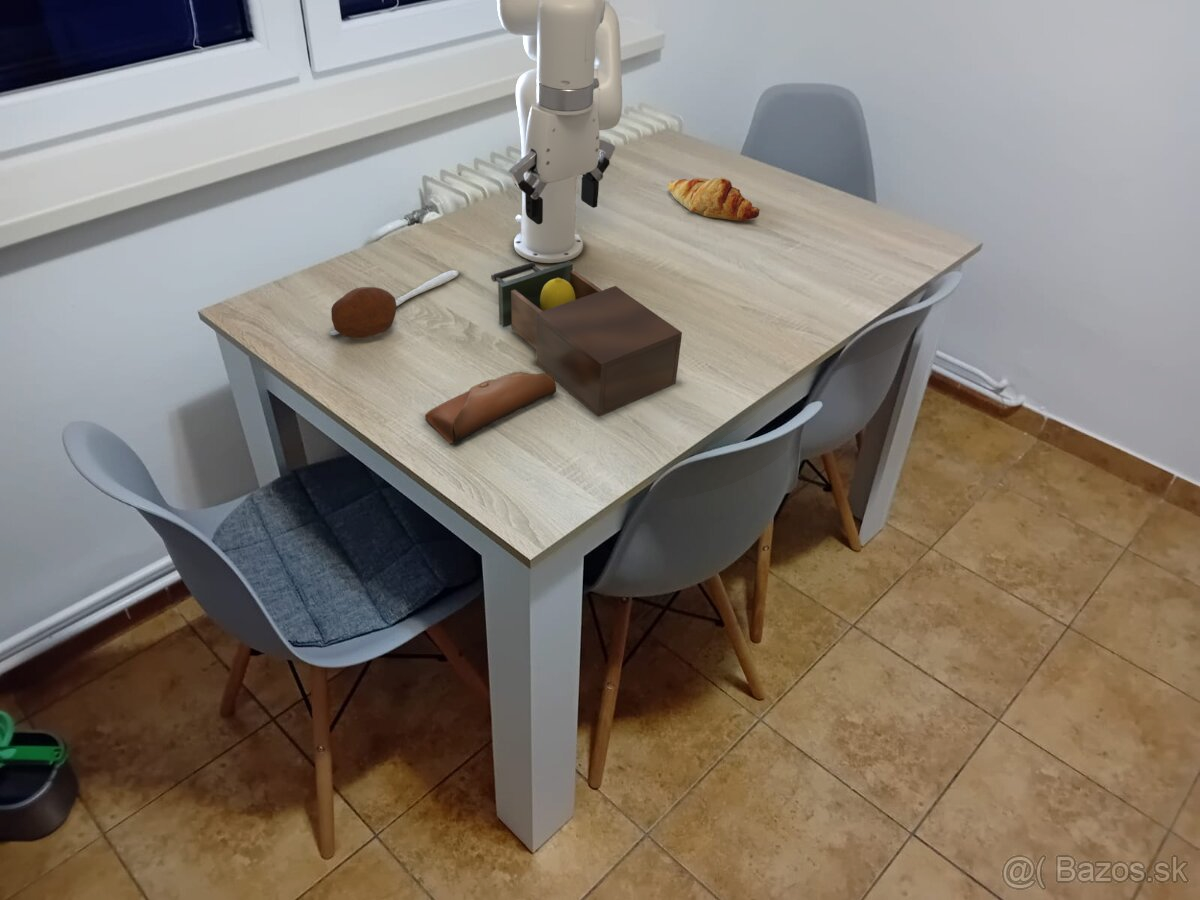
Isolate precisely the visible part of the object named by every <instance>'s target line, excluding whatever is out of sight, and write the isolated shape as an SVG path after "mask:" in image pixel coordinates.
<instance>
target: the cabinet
mask: <svg viewBox="0 0 1200 900" xmlns="http://www.w3.org/2000/svg"><path fill="white" fill-rule="evenodd" d="M601 290H602V291H599V292H596V293H593V294H591V295H588V296H585V297H582V298H579V299H576V300H573V301H571V302H568V303H565V304H562V305H559V306H556V307H553V308H550V309H548V310H545V311H542V312H539V313H537V349H536V365H537V366H538V367H539V368H540V369H541V370H543V371H544V373H545V374H548V375H550V376H551V377H552V378H553V379H554V381H555V382H556V383H558V384H559V385H560V386H561V387H562V388H563V389H565V390H566V391H567V392H568V393H569V394H571V395H572V396H573V397H574V398H575V399H576V400H578V401H579V402H580V403H581V404H582V405H583V406H584V407H586V408H587V409H588V410H589V411H591V412H592V413H593V414H594V415H595V416H596V417H597V418H599V417H602V416H604V415H606V414H609V413H610V412H613V411H616V410H618V409H620V408H622V407H625V406H628V405H630V404H632V403H635V402H637V401H640V400H641V399H644V398H646V397H649V396H650V395H653V394H655V393H657V392H659V391H662V390H664V389H667V388H669V387H671V386H674V385H676V384H677V378H678V370H679V369H678V368H679V361H680V353H681V344H682V338H683V337H682V336H683V331H681V330H679V329H678V328H677V327H675V326H674V325H672V324H671V323H670V322H668V321H667V320H665V319H664V318H662V317H661V316H659V315H658V314H657V313H655V312H654V311H652V310H651V309H649V308H648V307H646V305H644V304H642V303H641V302H640V301H638V300H636V299H635V298H634V297H632V296H631V295H629V294H628V293H626V292H625V291H623V290H622V289H621V288H620V287H618V286H617V285H614V286H610V287H607V288H605V289H601Z"/></svg>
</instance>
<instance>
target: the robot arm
mask: <svg viewBox="0 0 1200 900" xmlns="http://www.w3.org/2000/svg"><path fill="white" fill-rule="evenodd" d="M496 10H497V14H498V19H499V22H500V24H501V26H502V28H503V29H504V30H505V31H506V32H508V33H509V34H511V35H515V36H522V42H523V43H522V44H523V48H524V51H525V53H526V55H527V57H528V58H529V59H530V60H532V61H534V62H536V68H533V69H529V70H527V71H525V72H524V73H522V74H520V76H519V78H518V79H517V82H516V85H515V104H516V110H517V116H518V122H519V124H518V125H519V131H520V143H521V144H520V147H521V149H520V150H521V158H520V159H519V160H518V161H517V162H516V163H515V164H513V166H511V167H509V170H508V173H509V176H510V177H511V179H512V180H513V182H514V186H515V187H517V188H518V189H519V190H520V191H521V198H522V199H521V214H520V213H517V214H516V216H515V221H516V222H517V223H519V224H520V232H519V233H518V234H516V236H515V238H513V239H514V240H513V247H514V250H515V252H516V253H517V254H518V255H519V256H520V257H522V258H524V259H526V260H528V261H531V262H534V263H535V262H536V263H540V264H541V263H542V264H560V263H565V262H568V261H571V260H573V259H575V258H577V257H578V256H580V254H582V251H583V249H584V241H583V239H582V237H581V236H580V234H578V233H576V213H577V212H576V211H577V210H576V209H577V207H576V206H577V180H578V179H577V177H578V176H580V175H582V177H581V191H580V192H581V193H580V199H581V201H582V202H583V203H585V204H586V205H587V206H589V207H591V208H593V209H594V208H597V207H598V200H599V199H598V198H599V190H600V189H599V187H600V181H602V180H603V178H604V173H605V171H607V168H609V166H610V161H611V159H612V156H613V154H614V152H615V150H616V145H614V144H613V143H611V142H609V141H607V140H605V139H602V138H600V131H607V130H612V129H613V128H615V127H616V126H617V125H618V124H619V122H620V120H621V116H622V109H623V83H622V82H623V81H622V53H621V52H622V51H621V31H620V30H621V29H620V23H619V18H618V15H617V12H616V10H615V8H614V7H613V6H612V5H611V4H609V3H607V2H606V0H496Z"/></svg>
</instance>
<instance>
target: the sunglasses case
mask: <svg viewBox="0 0 1200 900" xmlns="http://www.w3.org/2000/svg"><path fill="white" fill-rule="evenodd" d="M556 383H557V382H556V381H555V380H554V379H553V378H552V377H551V376H550V375H548V374H547V373H545V372H543V373H541V372H540V373H527V372H522V371H514V372H511V373H508V374H504V375H502V376H500V377H499V376H498V377H496V378H493V379H488V380H485V381H482V382H480V383H478V384H475V385H473V386H471V387H470V388H469V389H468V390H467V391H465V392H463V393H460V394H459V395H456V396H454V397H453V398H451V399H447V401H445V402H443V403H441V404H439V405H437V406H435V407H433V408H432V409H430V410H429V411H427V412H426V413H425V414H424V417H425V420H426V422H427V423H428V424H429V425H430V426H431V427H432V428H433V429H434V430H435V431H436V432H437V433H438V434H439V435H440V436H441V437H442V438H443V439H444V440H445V441H447V443H449V444H450V445H455V444H456V443H460V442H462V441H464V440H466V439H467V438H469V437H471V436H473V435H475V434H476V433H478V432H480V431H482V430H484V429H485V428H487V427H489V426H491V425H492V424H494V423H496V422H497V421H500V420H502V419H504V418H506V417H508V416H510V415H513V414H514V413H516V412H518V411H520V410H522V409H525V408H527V407H529V406H531V405H533V404H535V403H536V402H539V401H541V400H543V399H545V398H547V397H549V396H551V395H554V394H556V392H557V384H556Z"/></svg>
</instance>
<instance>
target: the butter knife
mask: <svg viewBox="0 0 1200 900" xmlns="http://www.w3.org/2000/svg"><path fill="white" fill-rule="evenodd" d="M459 274H460V272H459V271H458V270H454V269H452V270H447V271H445V272H443V273H441V274H438V275H437V276H435V277H433V278H431V279H429V280H428V281H426V282H424V283H423V284H421V285H419V286H418V287H416V288H415V289H413V290H411V291H409V292H407V293H405V294H404V295H402V296H399V297H397V298H395V301H396V306H397V307H398V306H400V305H401V304H403V303H404V302H406V301H408V300H410V299H411V298H413V297H415V296H417V295H420V294H422V293H424V292H426V291H429V290H431V289H433V288H436V287H439V286H441V285H444V284H445V283H447V282H449V281H451V280H453V279H455V278H457V277H458V276H459ZM329 335H331V336H337V335H341V334H340V333H338V332H337V331H336V330H335V329H333V330H330V331H329Z"/></svg>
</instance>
